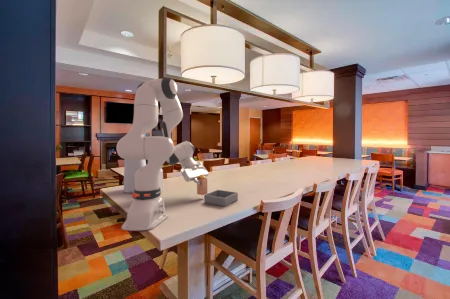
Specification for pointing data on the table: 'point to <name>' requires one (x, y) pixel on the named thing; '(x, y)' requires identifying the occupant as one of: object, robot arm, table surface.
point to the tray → (221, 197)
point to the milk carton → (161, 180)
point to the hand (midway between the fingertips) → (203, 183)
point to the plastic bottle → (131, 173)
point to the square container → (202, 186)
